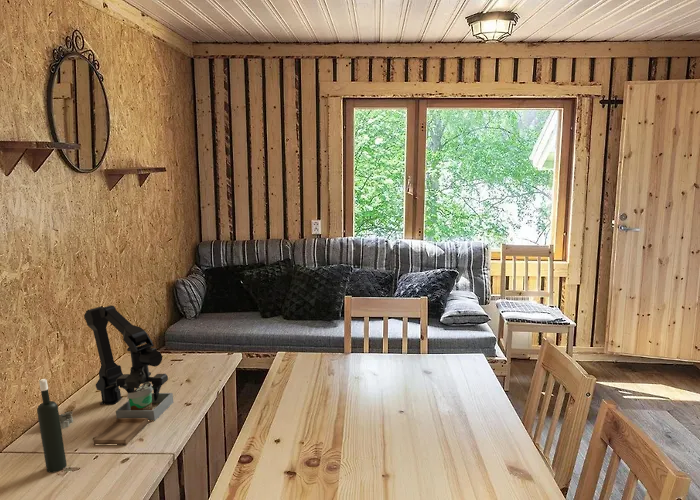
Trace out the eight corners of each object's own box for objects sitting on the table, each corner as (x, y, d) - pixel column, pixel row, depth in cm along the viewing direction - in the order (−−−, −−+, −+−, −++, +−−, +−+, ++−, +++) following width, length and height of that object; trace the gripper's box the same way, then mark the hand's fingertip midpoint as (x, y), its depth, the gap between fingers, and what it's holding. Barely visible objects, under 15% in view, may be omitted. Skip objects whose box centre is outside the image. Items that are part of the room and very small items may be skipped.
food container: (144, 418, 212) (141, 394, 211) (129, 418, 213) (126, 393, 212) (161, 404, 224) (158, 381, 222) (147, 404, 225) (144, 380, 224)
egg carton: (75, 420, 215) (74, 410, 215) (66, 429, 208) (64, 419, 207) (48, 422, 215) (46, 412, 215) (37, 431, 208) (36, 421, 207)
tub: (117, 421, 212) (115, 411, 211) (138, 402, 228) (136, 393, 227) (154, 420, 210) (153, 410, 209) (173, 402, 226) (172, 392, 225)
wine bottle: (45, 474, 177) (31, 384, 172) (47, 465, 182) (33, 378, 177) (66, 469, 179) (52, 380, 174) (67, 461, 184) (53, 374, 179)
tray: (93, 445, 194) (93, 439, 194) (118, 423, 210) (117, 418, 209) (126, 445, 192) (125, 439, 192) (148, 423, 208) (147, 418, 208)
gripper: (105, 370, 209) (111, 409, 211) (152, 369, 206) (157, 409, 209) (121, 359, 220) (126, 397, 222) (166, 359, 217) (170, 397, 220)
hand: (144, 400), depth 218 cm, fingers open, 9 cm apart
